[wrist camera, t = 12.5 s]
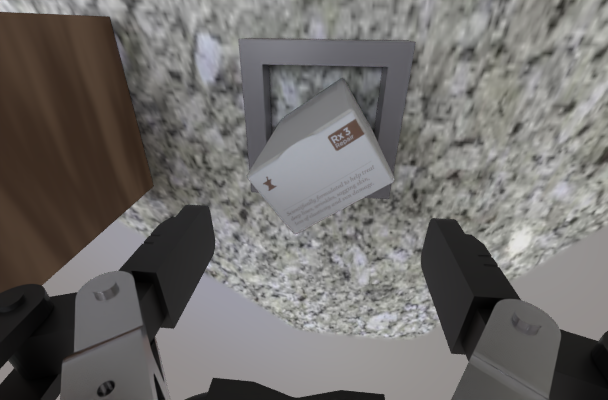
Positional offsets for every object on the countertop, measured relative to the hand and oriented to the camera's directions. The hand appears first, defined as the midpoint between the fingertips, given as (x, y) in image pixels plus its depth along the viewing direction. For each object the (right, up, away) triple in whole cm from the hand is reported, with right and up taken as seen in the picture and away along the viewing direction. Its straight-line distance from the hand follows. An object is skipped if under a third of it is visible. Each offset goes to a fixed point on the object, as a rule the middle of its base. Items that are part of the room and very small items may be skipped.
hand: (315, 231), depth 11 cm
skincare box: (+1, +8, +14) cm, 16 cm away
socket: (+1, +8, +14) cm, 16 cm away
